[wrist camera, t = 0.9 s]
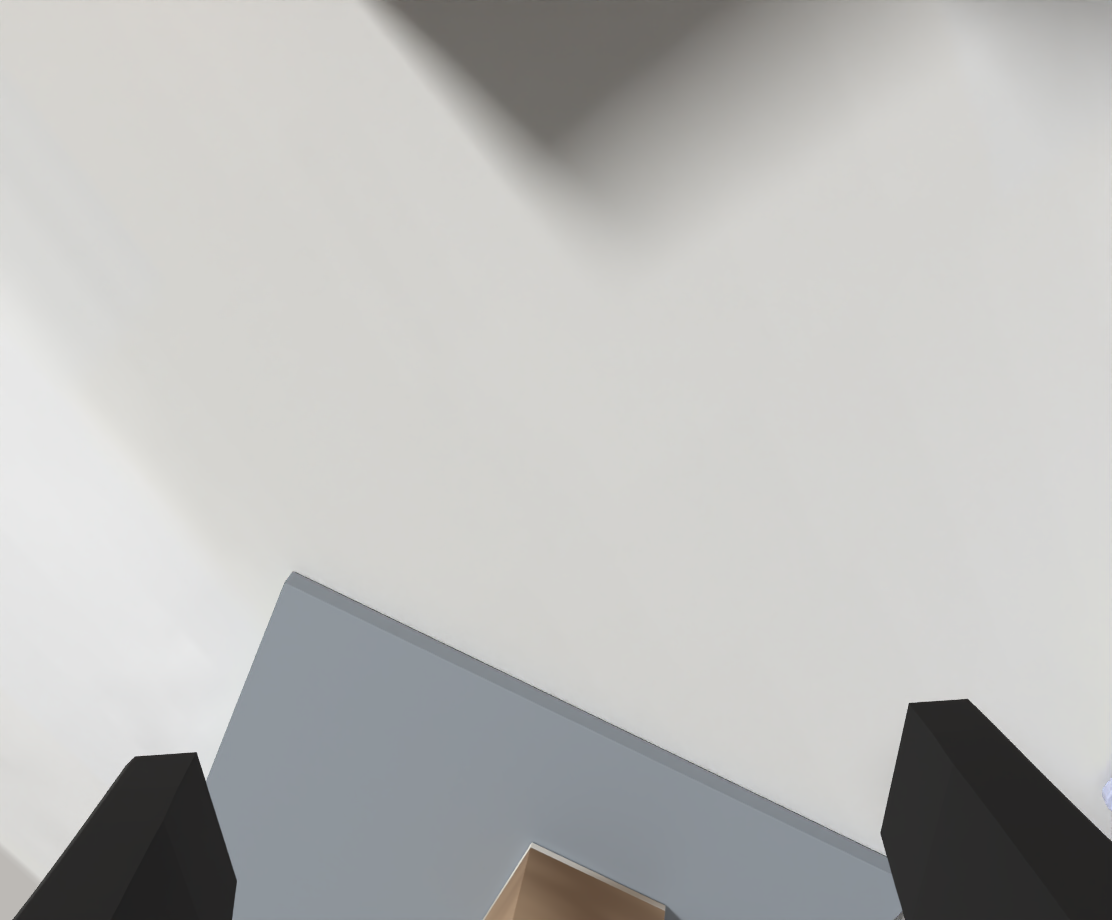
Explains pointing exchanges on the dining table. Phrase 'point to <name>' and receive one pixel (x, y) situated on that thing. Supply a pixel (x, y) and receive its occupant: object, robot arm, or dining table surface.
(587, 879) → the walnut block
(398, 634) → the light grey mat
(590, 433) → the dining table surface
